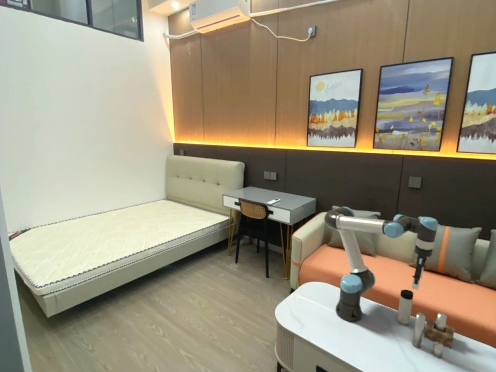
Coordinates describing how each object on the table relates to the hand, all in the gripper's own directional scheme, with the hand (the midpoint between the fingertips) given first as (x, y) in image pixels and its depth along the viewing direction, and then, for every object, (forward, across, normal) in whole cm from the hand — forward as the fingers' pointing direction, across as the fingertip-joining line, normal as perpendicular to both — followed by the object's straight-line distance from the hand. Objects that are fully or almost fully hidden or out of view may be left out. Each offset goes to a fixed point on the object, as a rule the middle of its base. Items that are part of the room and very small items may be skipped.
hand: (416, 283), depth 141 cm
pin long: (+30, -9, -6) cm, 32 cm away
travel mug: (+30, +6, +3) cm, 31 cm away
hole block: (+30, +4, -14) cm, 33 cm away
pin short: (+29, -10, -14) cm, 34 cm away
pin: (+30, +4, -14) cm, 33 cm away
